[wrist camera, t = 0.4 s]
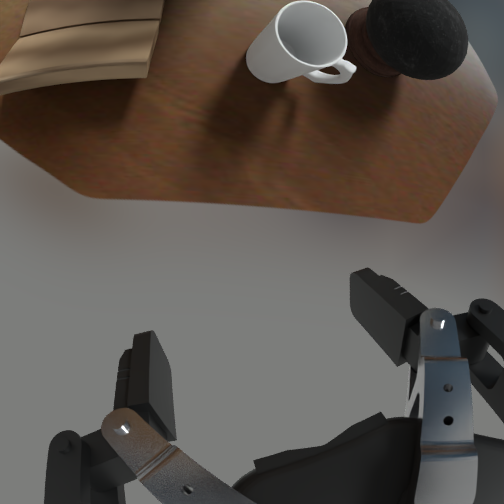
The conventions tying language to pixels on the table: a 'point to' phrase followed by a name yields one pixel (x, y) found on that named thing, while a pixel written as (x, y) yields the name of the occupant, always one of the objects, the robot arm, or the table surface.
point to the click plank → (80, 55)
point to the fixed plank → (86, 13)
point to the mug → (301, 46)
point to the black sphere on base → (408, 38)
